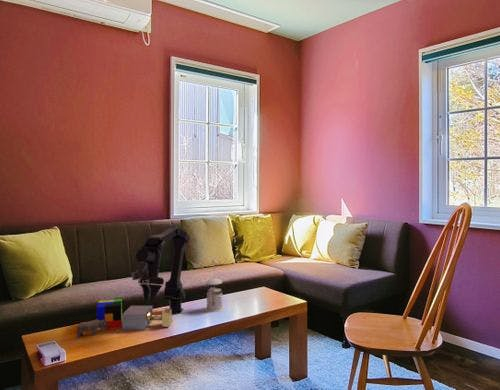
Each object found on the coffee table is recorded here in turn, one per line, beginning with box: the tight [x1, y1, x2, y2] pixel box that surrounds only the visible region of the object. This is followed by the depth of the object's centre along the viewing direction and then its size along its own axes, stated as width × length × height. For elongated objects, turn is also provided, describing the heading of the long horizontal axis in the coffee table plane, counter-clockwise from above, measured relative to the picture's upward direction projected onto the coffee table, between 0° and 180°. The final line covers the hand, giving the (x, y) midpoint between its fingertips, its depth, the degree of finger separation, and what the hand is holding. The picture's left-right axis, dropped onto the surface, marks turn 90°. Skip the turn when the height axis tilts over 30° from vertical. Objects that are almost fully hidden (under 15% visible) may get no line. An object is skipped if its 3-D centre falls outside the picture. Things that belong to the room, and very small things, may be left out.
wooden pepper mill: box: [148, 308, 173, 328], centre depth 176 cm, size 6×17×6 cm, turn 90°
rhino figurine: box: [76, 319, 110, 339], centre depth 166 cm, size 4×14×6 cm, turn 126°
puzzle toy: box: [96, 298, 123, 331], centre depth 177 cm, size 10×10×10 cm
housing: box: [121, 305, 154, 331], centre depth 176 cm, size 12×10×7 cm
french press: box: [204, 259, 225, 313], centre depth 198 cm, size 10×12×25 cm
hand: (148, 301), depth 170 cm, fingers open, 9 cm apart
